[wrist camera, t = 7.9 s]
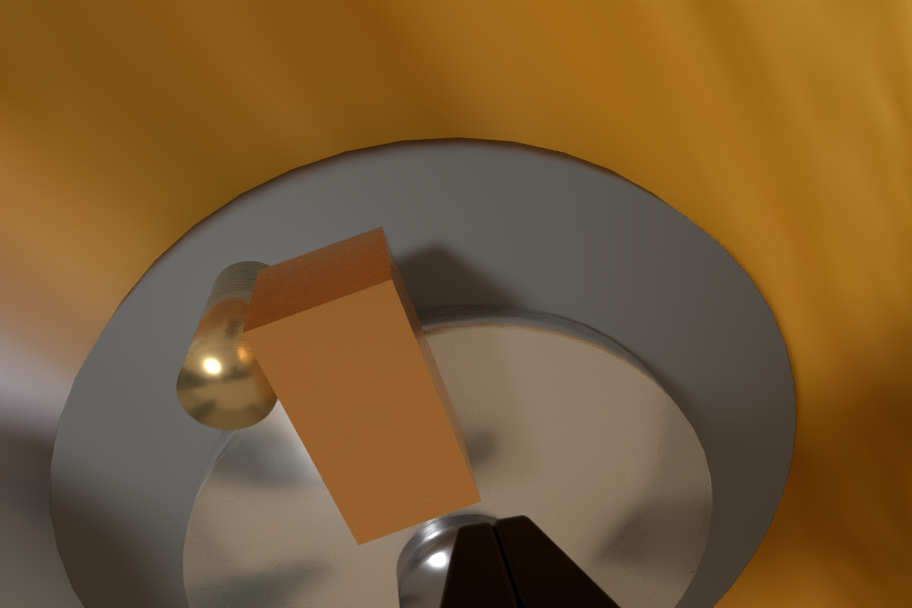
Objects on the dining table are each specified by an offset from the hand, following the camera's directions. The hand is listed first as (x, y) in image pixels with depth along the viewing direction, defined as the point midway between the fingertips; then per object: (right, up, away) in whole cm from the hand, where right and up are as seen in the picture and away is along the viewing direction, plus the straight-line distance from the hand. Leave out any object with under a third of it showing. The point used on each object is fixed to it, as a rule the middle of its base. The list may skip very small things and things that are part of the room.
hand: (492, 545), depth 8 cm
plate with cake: (-1, -3, +13) cm, 14 cm away
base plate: (-1, -3, +16) cm, 16 cm away
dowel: (-6, +3, +10) cm, 12 cm away
